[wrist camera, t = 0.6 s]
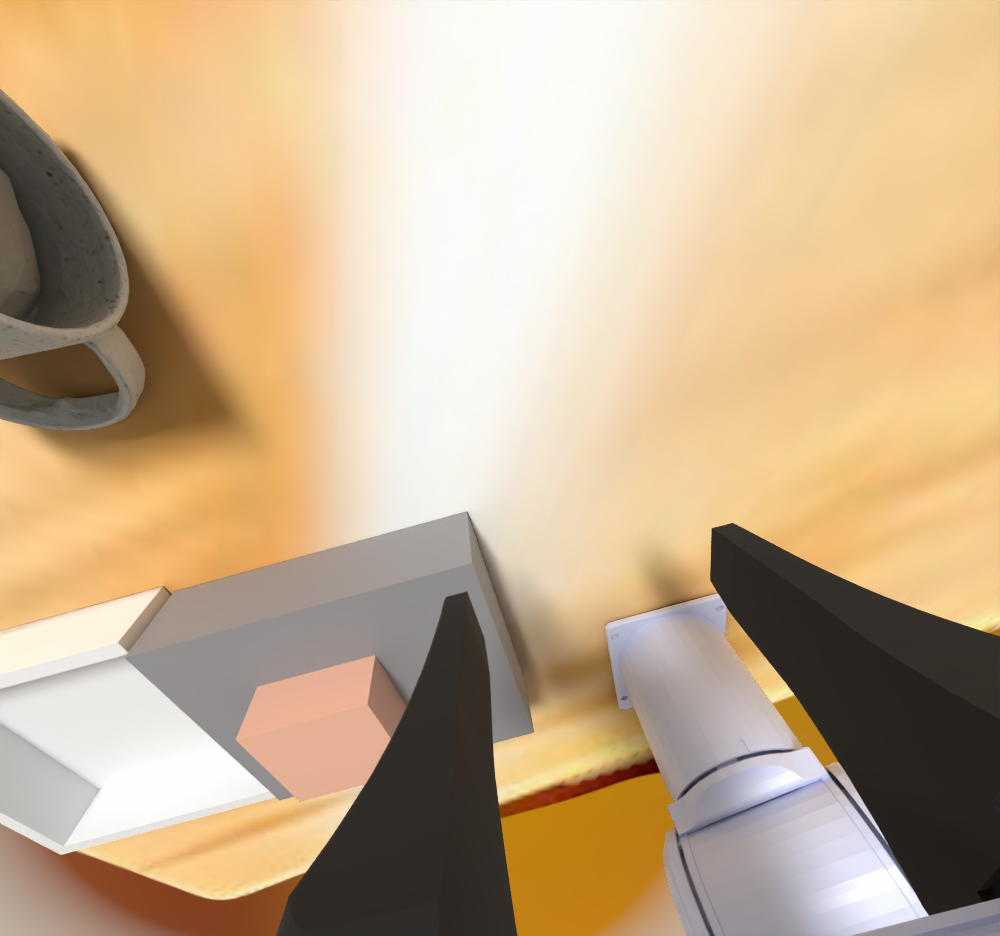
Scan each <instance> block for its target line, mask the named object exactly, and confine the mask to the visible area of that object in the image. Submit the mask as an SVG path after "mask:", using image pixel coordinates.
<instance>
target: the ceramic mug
mask: <svg viewBox="0 0 1000 936" xmlns="http://www.w3.org/2000/svg"><path fill="white" fill-rule="evenodd" d="M129 288H130V285H129V278H128V272H127V265H126V261H125V257H124V255H123V252H122V249H121V247H120V244H119V241H118V239H117V236H116V234H115V232H114V230H113V228H112V226H111V224H110V222H109V220H108V218H107V216H106V214H105V213H104V211H103V209H102V207H101V205H100V204H99V202H98V201H97V199H96V197H95V196H94V194H93V193H92V191H91V189H90V188H89V186H88V185H87V183H86V182H85V181H84V180H83V178H82V177H81V175H80V174H79V172H78V171H77V170H76V168H75V167H74V166H73V165H72V163H71V162H70V161H69V160H68V158H67V157H66V156H65V155H64V153H63V152H62V151H61V150H60V148H59V147H58V146H57V145H56V144H55V142H54V141H53V140H52V139H51V138H50V136H49V135H48V134H47V133H46V132H45V131H44V130H43V129H42V128H40V127H39V126H38V125H37V124H36V123H35V122H34V121H33V120H32V119H31V118H30V117H29V116H28V115H27V114H26V113H25V112H24V111H23V110H22V109H21V108H20V107H19V106H18V105H17V104H16V103H15V102H14V101H13V100H12V99H11V98H10V97H9V96H8V95H7V94H5V93H4V92H3V91H2V90H1V89H0V360H3V359H8V358H13V357H17V356H22V355H27V354H32V353H36V352H41V351H46V350H52V349H57V348H62V347H66V346H71V345H75V344H79V343H82V344H84V345H86V346H87V347H89V348H90V349H92V350H93V351H94V352H95V353H96V355H97V356H98V357H99V358H100V360H101V362H102V363H103V365H104V366H105V367H106V368H107V370H108V371H109V373H110V374H111V375H112V377H113V379H114V380H115V382H116V384H117V385H118V387H119V391H118V392H115V393H109V394H102V395H96V396H90V397H82V398H71V397H64V398H61V399H57V398H52V397H47V396H44V395H41V394H38V393H34V392H31V391H28V390H25V389H22V388H20V387H18V386H16V385H14V384H11V383H9V382H7V381H5V380H3V379H1V378H0V418H1V419H3V420H6V421H10V422H14V423H18V424H23V425H27V426H32V427H37V428H44V429H51V430H66V431H74V430H91V429H97V428H102V427H106V426H109V425H113V424H115V423H118V422H120V421H122V420H124V419H125V418H127V417H128V415H129V414H130V413H131V411H132V410H133V409H134V408H135V406H136V404H137V401H138V398H139V396H140V395H141V393H142V392H143V390H144V384H145V375H146V374H145V368H144V364H143V362H142V359H141V357H140V355H139V354H138V352H137V351H136V349H135V348H134V346H133V345H132V343H131V342H130V340H129V339H128V337H127V336H126V334H125V333H124V332H123V330H122V329H121V328H120V327H119V326H118V325H117V323H118V322H119V321H120V319H121V317H122V315H123V314H124V312H125V309H126V307H127V304H128V298H129Z"/></svg>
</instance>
